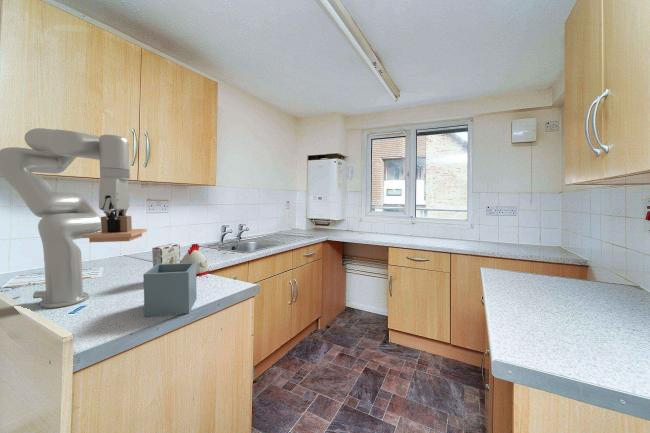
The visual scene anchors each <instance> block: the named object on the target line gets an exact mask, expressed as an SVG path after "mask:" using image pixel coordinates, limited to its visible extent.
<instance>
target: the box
mask: <svg viewBox="0 0 650 433" xmlns="http://www.w3.org/2000/svg"><path fill="white" fill-rule="evenodd" d="M196 301H197V277H196V263H175V264H157V265H155V266H154V267H153V266H152V267H151V268H150V269H149V270H147V271H146V272H144V273H143V309H144V310H143V311H144V313H143V315H144V318H148V317H149V318H151V317H163V316H174V315H175V316H176V315H185V314H190V312H191V310H192V308H193V307H194V305H195V303H196Z"/></svg>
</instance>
